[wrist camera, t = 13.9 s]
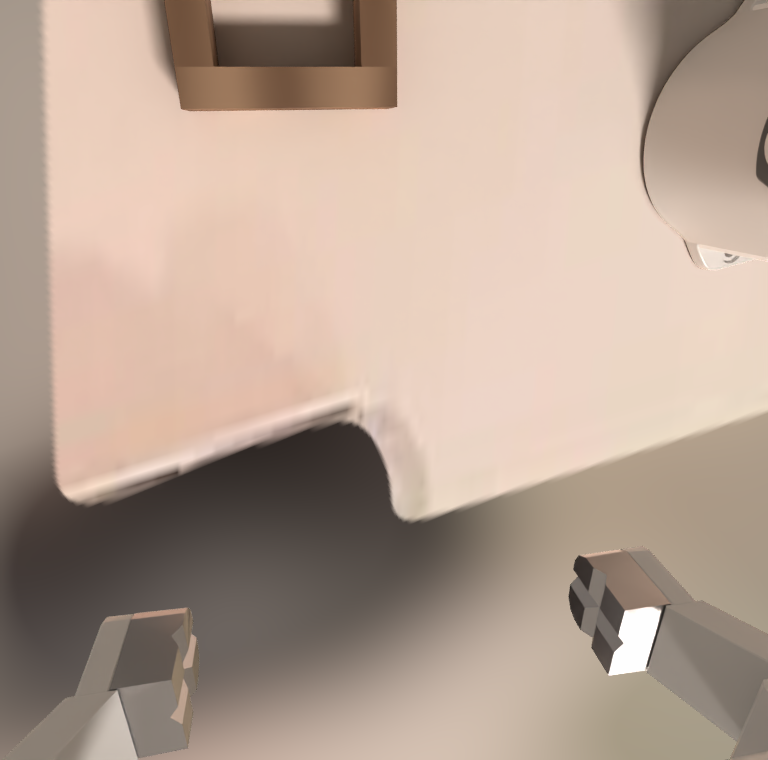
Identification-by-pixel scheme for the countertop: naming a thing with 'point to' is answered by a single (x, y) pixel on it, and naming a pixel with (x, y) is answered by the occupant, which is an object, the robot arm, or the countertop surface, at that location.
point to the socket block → (284, 84)
